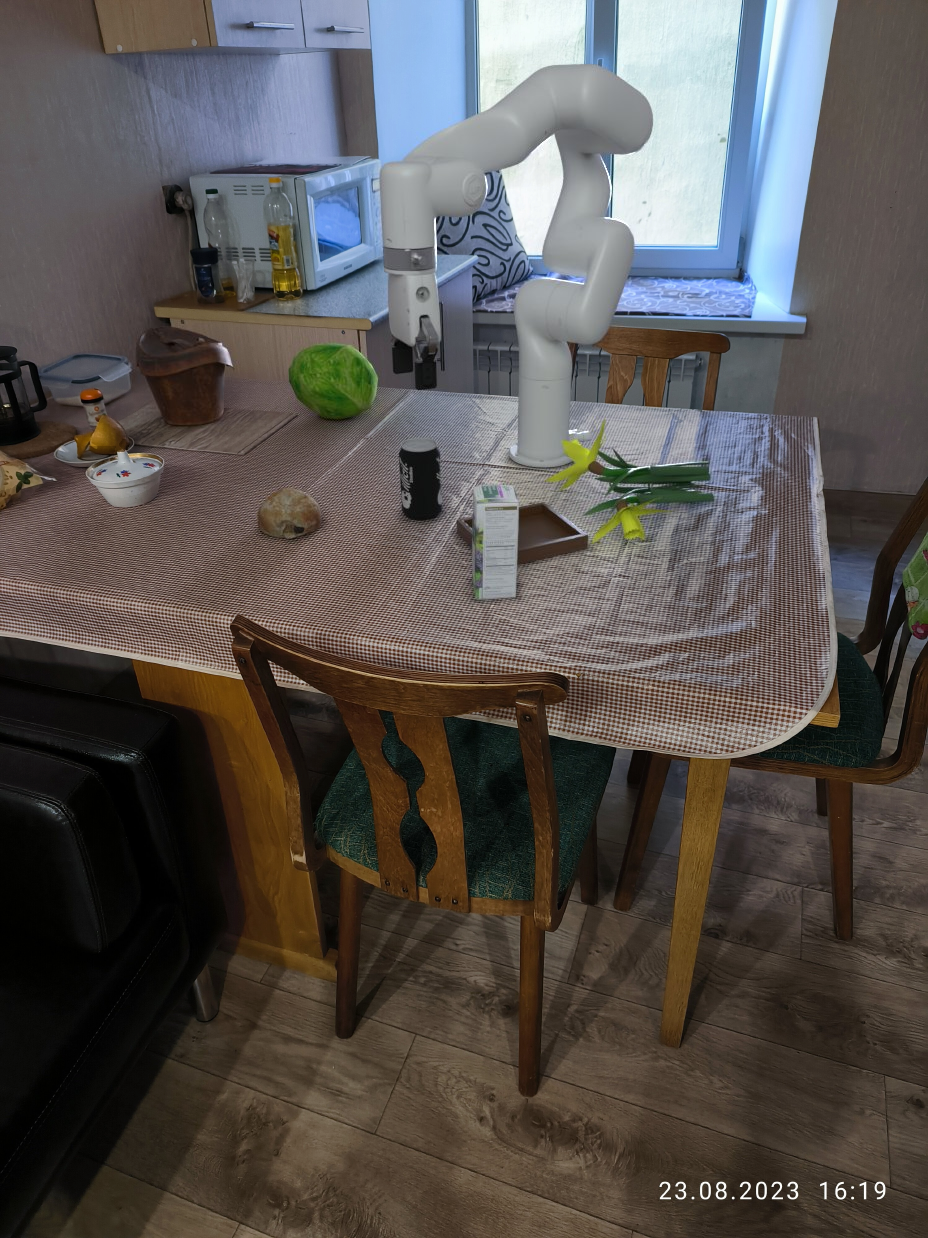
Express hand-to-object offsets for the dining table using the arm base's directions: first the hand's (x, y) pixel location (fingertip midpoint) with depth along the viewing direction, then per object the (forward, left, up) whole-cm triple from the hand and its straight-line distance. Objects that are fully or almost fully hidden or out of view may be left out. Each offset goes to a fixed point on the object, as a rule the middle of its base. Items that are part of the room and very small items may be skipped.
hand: (414, 380), depth 131 cm
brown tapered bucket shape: (+26, -67, -22) cm, 75 cm away
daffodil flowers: (-30, +19, -22) cm, 42 cm away
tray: (-10, +17, -22) cm, 29 cm away
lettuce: (-2, -54, -22) cm, 59 cm away
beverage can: (0, +1, -22) cm, 22 cm away
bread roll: (+21, -4, -22) cm, 31 cm away
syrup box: (0, +29, -22) cm, 36 cm away
